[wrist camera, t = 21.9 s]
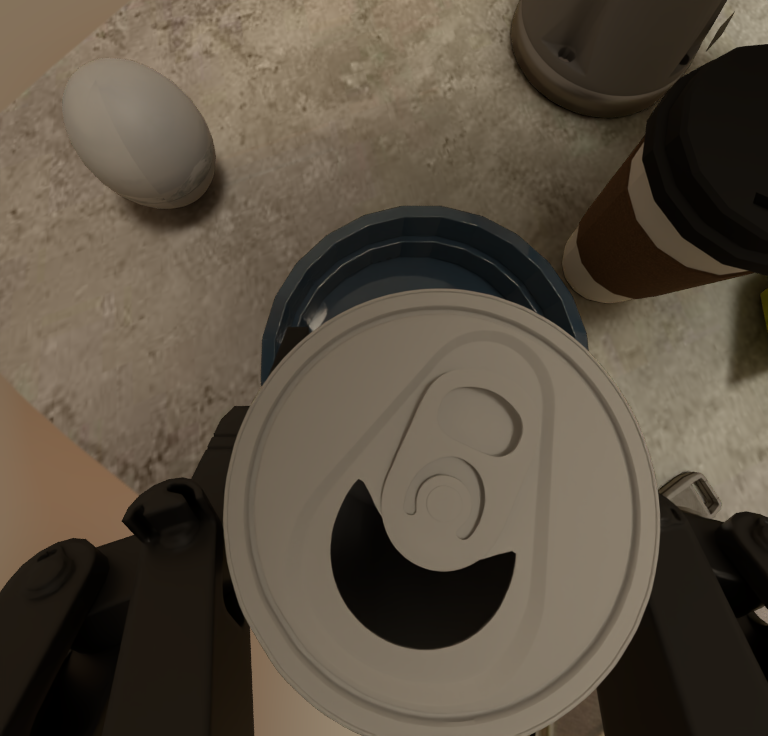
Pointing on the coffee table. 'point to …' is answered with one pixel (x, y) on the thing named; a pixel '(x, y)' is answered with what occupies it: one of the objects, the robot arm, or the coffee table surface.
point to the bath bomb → (138, 133)
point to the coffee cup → (684, 191)
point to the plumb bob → (765, 305)
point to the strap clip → (692, 495)
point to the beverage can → (441, 518)
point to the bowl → (415, 270)
